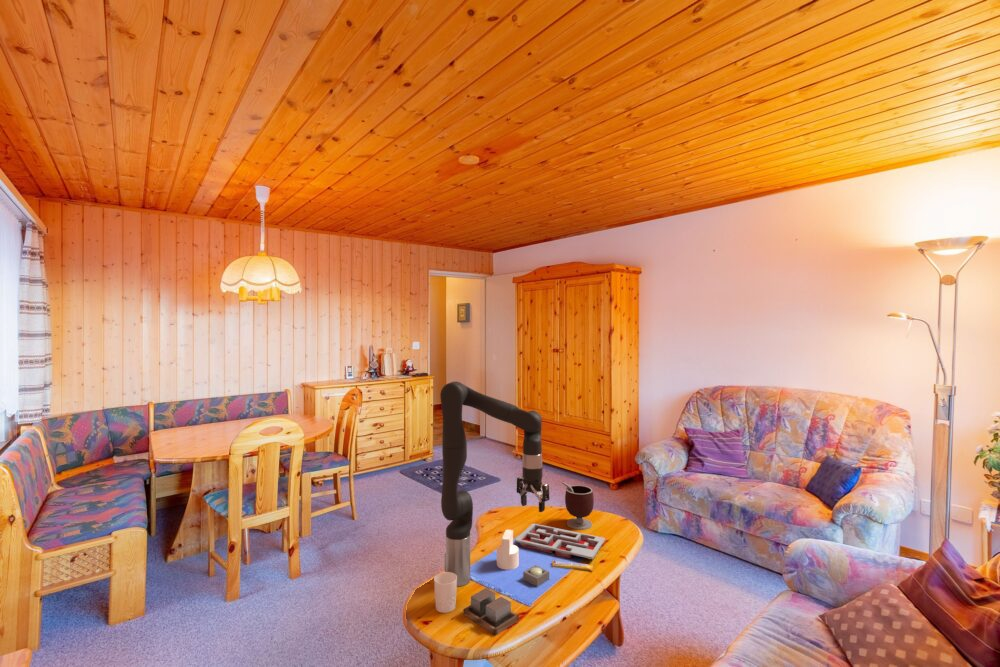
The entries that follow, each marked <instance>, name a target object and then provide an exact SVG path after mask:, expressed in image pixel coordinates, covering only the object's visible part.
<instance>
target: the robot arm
mask: <svg viewBox="0 0 1000 667" xmlns="http://www.w3.org/2000/svg"><path fill="white" fill-rule="evenodd" d="M439 397H440V404H441V413H442V441H441V442H442V447H441V448H442V449H441V450H442V452H441V453H442V487H441V500H440V505H441V506H440V507H441V512H442V515H443V517H444V519H446V520H447V521H449V524H448V525H447V526H446V528H445V553H444V572H451V573H454V574H456V576H457V587H463V586H466V585H467V584H469V583H470V582H471V529H472V527H473V513H474V510H473V509H474V507H473V505H474V503H473V499H472V496H471V494H470V492H468V491H467V490H465V489H460V490H458V485H459V479H460V476H461V474H462V472H463V470H464V468H465V465H466V462H467V457H468V456H467V455H468V451H467V450H468V449H467V448H468V445H467V444H468V443H467V437H466V436H467V435H466V432H465V428H464V424H463V406H465V407H466V406H467V407H470V408H473V409H476V410H478V411H481V412H482V413H485V414H486V415H488V416H489V417H492V418H494V419H496V420H499V421H501V422H505V423H508V424H511V425H513V426H515V427H517V428H518V429H521V430H523V442H522V465H521V466H522V476H519V477H516V493H517V494H519V496H520V504H521V506H522V507H525V506H527V502H528V500H527V498H528V497H527V494H528V493H532V495H534V496H535V497H536V498H537V499H538V512H539V513H543V512H544V511H545V509H546V505H545V504H546V502H547V501H549V500H550V498H551V497H550V485H549V483H543V482H542V479H543V453H542V451H543V450H542V445H543V444H542V428H543V427H542V426H543V424H542V423H543V421H542V420H543V419H542V416H541V414H540V413H539V412H538V411H536V410H528V411H526V410H523V409H521V408H519V407H518V405H514V404H512V403H511V402H510V403H509V402H507V401H504V400H501V399H497V398H495V397H492V396H489V395H486V394H483V393H481V392H478V391H476V390H474V389H473V388H471V387H469V386H467V385H465V384H463V383H461V382H459V381H451V382H449V383H446V384H445V385H444V386H443V387H442V388H441V390H440V396H439ZM450 521H451V522H450Z"/></svg>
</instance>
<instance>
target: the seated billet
mask: <svg viewBox="0 0 1000 667" xmlns="http://www.w3.org/2000/svg"><path fill="white" fill-rule="evenodd" d="M494 600H496V593H495V592H494V591H492V590H490V589H489V588H487V587H485V588H483V589H482V590H480V591H478V592H476V593H475V594H473V595H470V605H471V612H472V613H473V614H475V615H476V616H478V617H479V618H480V617H482V616H484V615H485V614H486V605H487V604H489V603H491V602H493V601H494Z"/></svg>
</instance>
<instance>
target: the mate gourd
mask: <svg viewBox="0 0 1000 667" xmlns="http://www.w3.org/2000/svg"><path fill="white" fill-rule="evenodd" d="M561 484H563V485H564V486H565V487H566V488H565V489H566V490H565V495H564V503H565V508H566V511H567V512H568V513H569V515H570V516H573V517H574V518H573V517H572V518H570V519H568V520H567V521H566V525H567V526H568V527H569V528H570V529H573V530H579V531H581V530H588V529H591V528H592V527H593V522H592V521H591V520H589V519H587V517H588V516H590V514H591V513H592V512H593V510H594V500H595V498H594V492H593V489H592V488H591V487H590V486H586V485H582V484H581V485H580V484H578V485H577V484H575V485H569V484H568V483H566V482H564V481H562V482H561Z"/></svg>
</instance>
